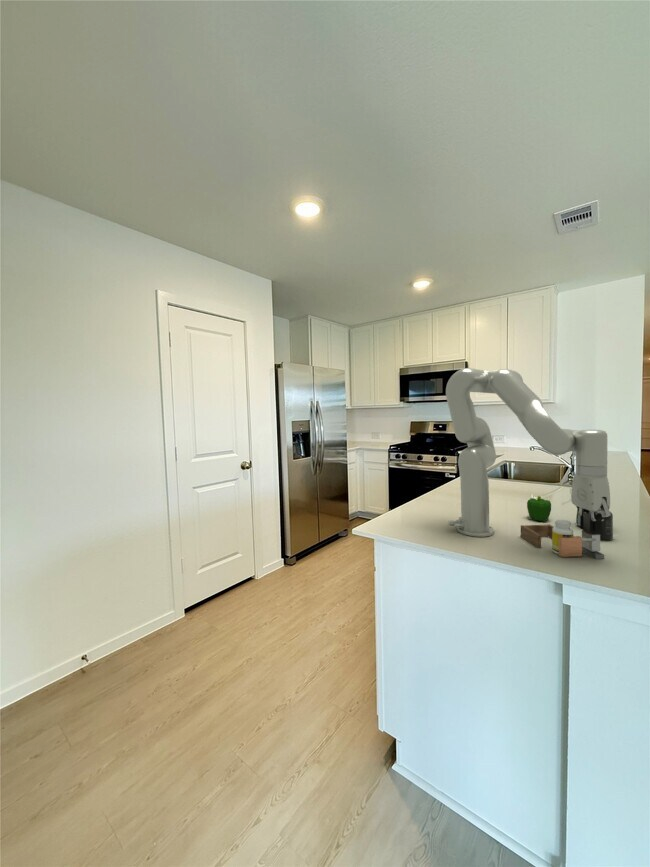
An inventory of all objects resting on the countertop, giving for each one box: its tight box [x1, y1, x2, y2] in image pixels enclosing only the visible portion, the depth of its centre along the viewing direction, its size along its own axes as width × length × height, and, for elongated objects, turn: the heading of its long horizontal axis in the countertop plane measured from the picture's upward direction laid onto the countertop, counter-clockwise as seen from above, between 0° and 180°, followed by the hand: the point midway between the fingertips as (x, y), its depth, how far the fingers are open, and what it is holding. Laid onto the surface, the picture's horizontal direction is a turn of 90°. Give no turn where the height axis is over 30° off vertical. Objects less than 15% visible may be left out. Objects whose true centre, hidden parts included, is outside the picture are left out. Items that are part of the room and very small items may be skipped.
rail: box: [582, 547, 605, 560], centre depth 110 cm, size 2×18×1 cm, turn 179°
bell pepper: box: [526, 495, 552, 522], centre depth 138 cm, size 8×8×10 cm
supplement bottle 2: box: [597, 511, 614, 541], centre depth 117 cm, size 7×7×12 cm
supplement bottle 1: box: [551, 519, 574, 555], centre depth 106 cm, size 5×5×10 cm
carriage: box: [558, 512, 601, 558], centre depth 104 cm, size 12×4×12 cm, turn 89°
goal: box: [520, 524, 555, 548], centre depth 116 cm, size 10×10×4 cm
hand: (590, 530), depth 104 cm, fingers closed on carriage, 3 cm apart
